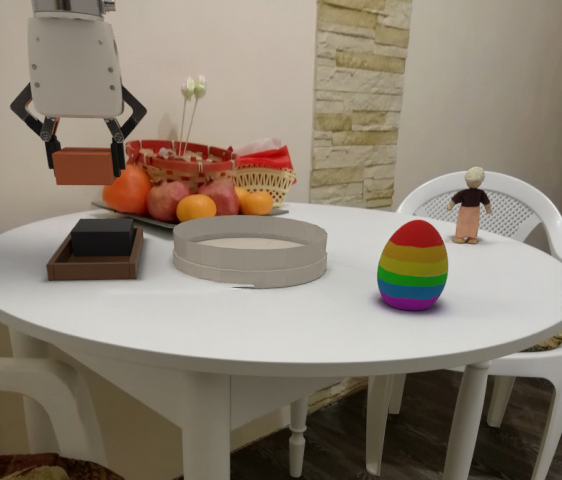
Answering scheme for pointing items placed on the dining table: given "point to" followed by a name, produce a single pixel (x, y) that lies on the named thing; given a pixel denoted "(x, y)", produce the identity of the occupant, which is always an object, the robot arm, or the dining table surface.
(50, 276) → the pad frame
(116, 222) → the pad
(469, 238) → the grandmother figurine
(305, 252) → the dish
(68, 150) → the pad
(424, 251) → the decorative egg
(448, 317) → the dining table surface
